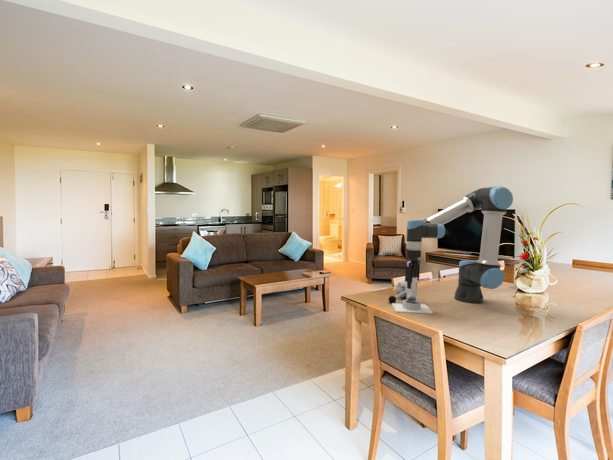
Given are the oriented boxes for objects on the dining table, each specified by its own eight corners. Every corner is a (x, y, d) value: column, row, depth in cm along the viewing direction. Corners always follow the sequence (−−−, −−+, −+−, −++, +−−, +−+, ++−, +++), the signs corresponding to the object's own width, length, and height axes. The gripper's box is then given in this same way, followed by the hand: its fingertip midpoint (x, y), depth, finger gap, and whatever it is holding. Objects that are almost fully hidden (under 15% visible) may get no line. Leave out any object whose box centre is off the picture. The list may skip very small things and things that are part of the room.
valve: (409, 295, 195) (421, 293, 181) (385, 310, 191) (395, 309, 177) (400, 280, 197) (411, 277, 183) (376, 294, 193) (385, 292, 178)
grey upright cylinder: (417, 299, 170) (418, 277, 170) (413, 301, 167) (415, 278, 166) (406, 297, 174) (407, 275, 174) (402, 299, 171) (403, 276, 170)
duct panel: (425, 305, 177) (425, 298, 177) (432, 313, 163) (433, 306, 163) (391, 304, 178) (391, 297, 178) (396, 312, 164) (396, 305, 164)
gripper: (413, 247, 178) (411, 289, 179) (399, 250, 164) (397, 295, 166) (427, 248, 173) (425, 291, 174) (413, 251, 159) (411, 298, 161)
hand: (411, 293), depth 170 cm, fingers closed on grey upright cylinder, 5 cm apart
